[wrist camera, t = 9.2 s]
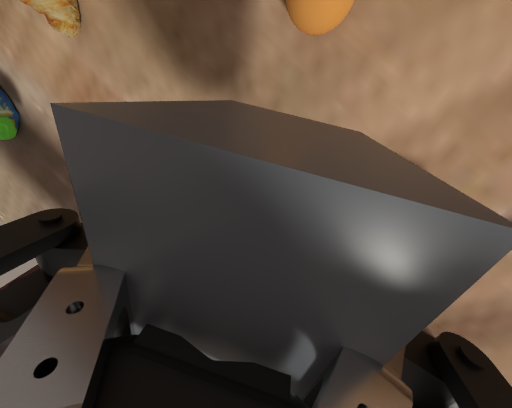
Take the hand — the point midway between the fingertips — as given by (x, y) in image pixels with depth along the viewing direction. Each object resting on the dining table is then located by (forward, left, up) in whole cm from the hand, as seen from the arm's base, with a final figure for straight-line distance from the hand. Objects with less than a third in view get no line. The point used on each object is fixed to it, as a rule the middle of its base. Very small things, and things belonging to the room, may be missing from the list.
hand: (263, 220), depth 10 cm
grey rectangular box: (0, 0, -2) cm, 2 cm away
